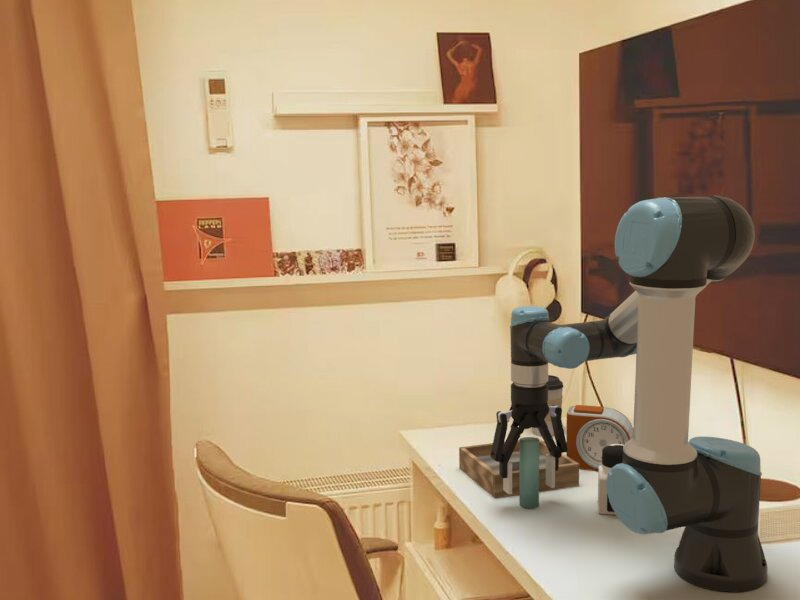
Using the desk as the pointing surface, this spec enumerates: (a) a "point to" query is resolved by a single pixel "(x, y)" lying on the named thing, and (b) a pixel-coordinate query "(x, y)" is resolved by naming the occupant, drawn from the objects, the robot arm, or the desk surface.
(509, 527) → the desk surface
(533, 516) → the desk surface
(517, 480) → the socket box
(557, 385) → the coffee cup
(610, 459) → the container
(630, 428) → the alarm clock
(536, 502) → the peg
